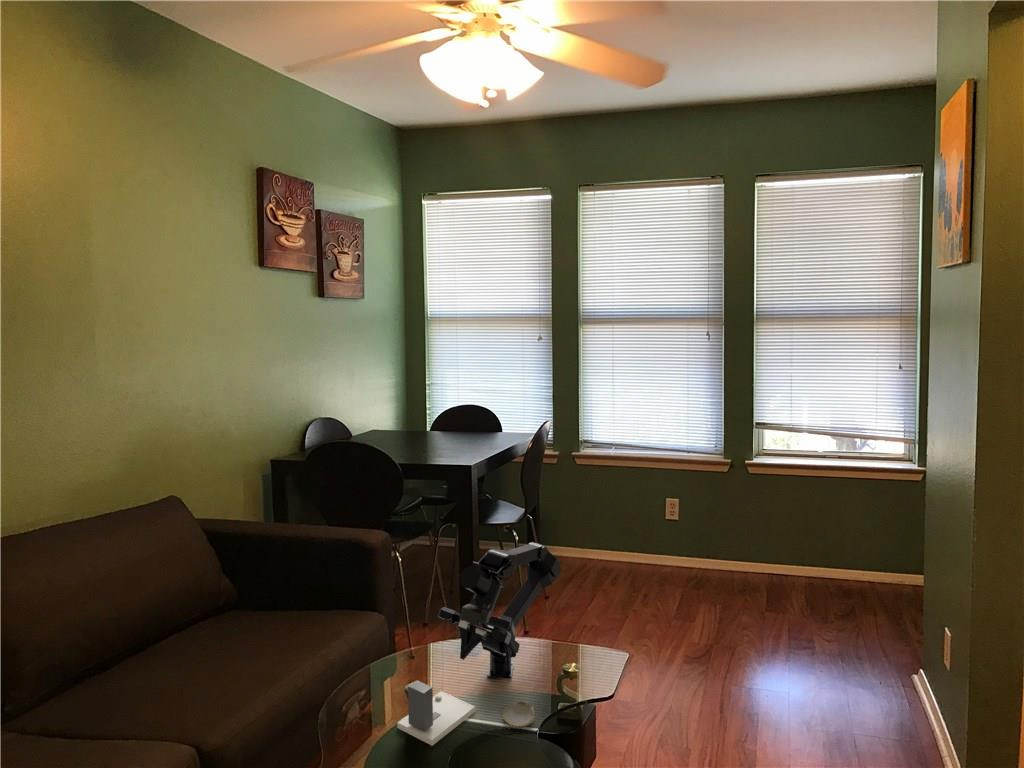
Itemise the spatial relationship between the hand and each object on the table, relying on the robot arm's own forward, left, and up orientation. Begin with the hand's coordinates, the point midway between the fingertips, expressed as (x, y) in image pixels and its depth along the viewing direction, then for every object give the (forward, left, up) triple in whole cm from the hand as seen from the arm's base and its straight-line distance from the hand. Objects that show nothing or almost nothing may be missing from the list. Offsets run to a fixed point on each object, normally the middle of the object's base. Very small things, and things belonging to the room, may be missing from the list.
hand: (461, 659), depth 202 cm
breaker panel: (+8, -5, -12) cm, 15 cm away
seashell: (+5, +15, -12) cm, 20 cm away
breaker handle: (+13, -8, -10) cm, 18 cm away
